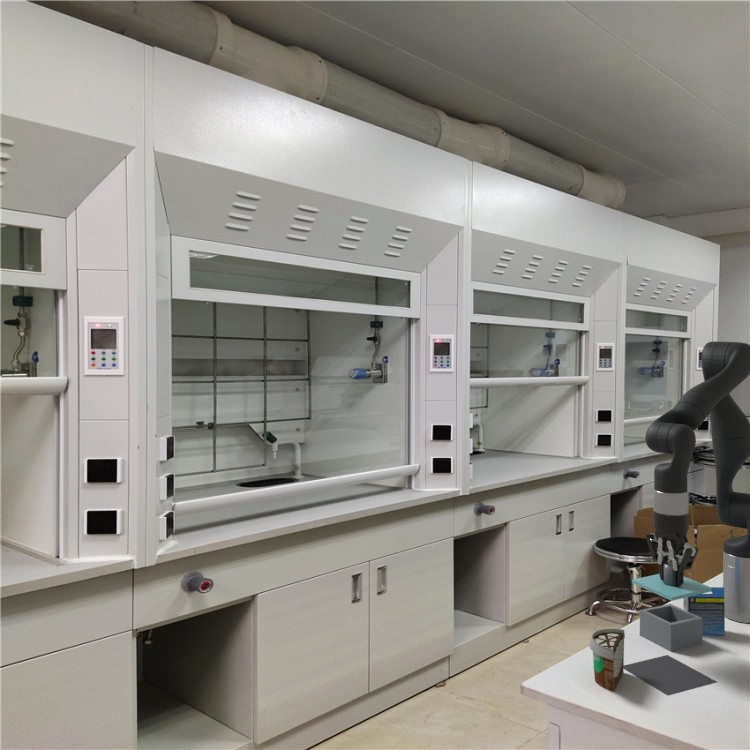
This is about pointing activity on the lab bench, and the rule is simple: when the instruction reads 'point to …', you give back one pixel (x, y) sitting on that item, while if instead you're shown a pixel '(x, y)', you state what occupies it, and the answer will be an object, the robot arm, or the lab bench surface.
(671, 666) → the mat
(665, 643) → the tub
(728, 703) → the lab bench surface
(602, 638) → the food container
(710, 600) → the label tape cartridge
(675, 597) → the lid
